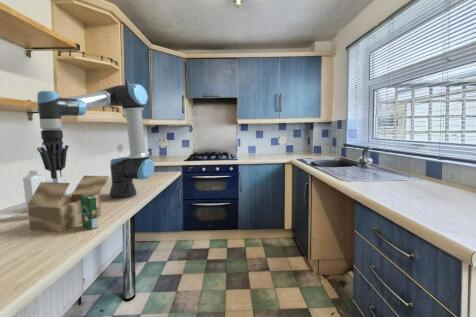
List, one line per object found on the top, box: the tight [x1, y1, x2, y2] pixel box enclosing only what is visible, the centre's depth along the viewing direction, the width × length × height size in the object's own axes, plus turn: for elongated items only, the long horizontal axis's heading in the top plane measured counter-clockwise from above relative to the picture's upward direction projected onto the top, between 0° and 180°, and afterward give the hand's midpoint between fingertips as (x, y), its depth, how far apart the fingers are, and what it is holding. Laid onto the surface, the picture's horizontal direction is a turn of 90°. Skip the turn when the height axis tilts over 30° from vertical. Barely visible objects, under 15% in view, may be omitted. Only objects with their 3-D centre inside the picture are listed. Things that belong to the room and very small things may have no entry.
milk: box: [22, 170, 45, 219], centre depth 135 cm, size 6×6×22 cm
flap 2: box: [72, 175, 110, 195], centre depth 139 cm, size 10×15×1 cm
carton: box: [28, 192, 102, 233], centre depth 126 cm, size 22×16×10 cm
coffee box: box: [80, 195, 99, 230], centre depth 118 cm, size 8×3×13 cm, turn 54°
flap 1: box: [28, 182, 70, 207], centre depth 117 cm, size 10×15×1 cm
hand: (57, 185), depth 121 cm, fingers closed
